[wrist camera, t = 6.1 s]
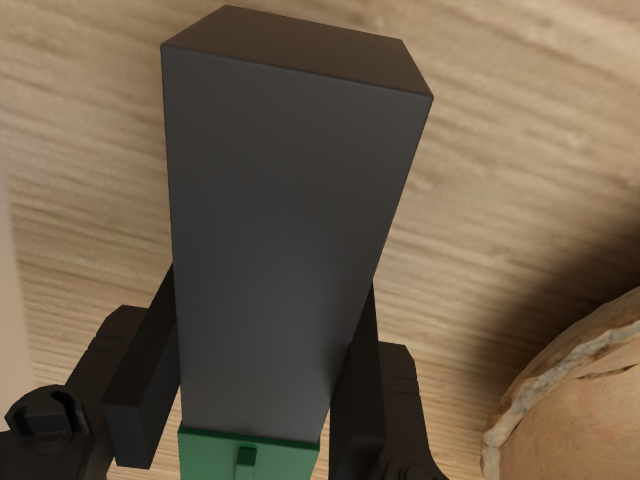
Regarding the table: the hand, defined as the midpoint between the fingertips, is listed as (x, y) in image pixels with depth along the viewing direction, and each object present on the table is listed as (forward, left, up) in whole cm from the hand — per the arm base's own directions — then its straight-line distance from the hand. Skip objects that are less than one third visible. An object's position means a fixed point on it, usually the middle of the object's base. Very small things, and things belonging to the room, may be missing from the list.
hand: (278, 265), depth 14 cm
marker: (0, 0, 0) cm, 0 cm away
